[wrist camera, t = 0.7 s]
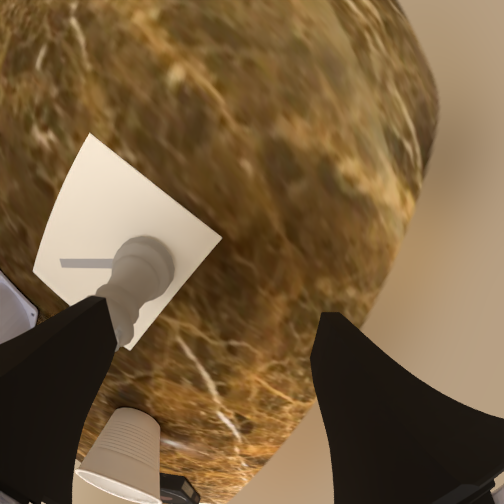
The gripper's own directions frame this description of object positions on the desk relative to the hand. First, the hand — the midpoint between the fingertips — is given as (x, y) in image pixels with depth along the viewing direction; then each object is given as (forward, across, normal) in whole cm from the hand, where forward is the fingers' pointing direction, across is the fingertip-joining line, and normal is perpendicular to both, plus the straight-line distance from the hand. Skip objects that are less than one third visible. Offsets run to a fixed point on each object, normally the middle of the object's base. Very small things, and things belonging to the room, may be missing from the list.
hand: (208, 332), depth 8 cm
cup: (+10, +11, +25) cm, 29 cm away
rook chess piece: (+10, +6, +2) cm, 12 cm away
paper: (+10, +9, +2) cm, 14 cm away
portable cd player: (+11, +16, +55) cm, 58 cm away
